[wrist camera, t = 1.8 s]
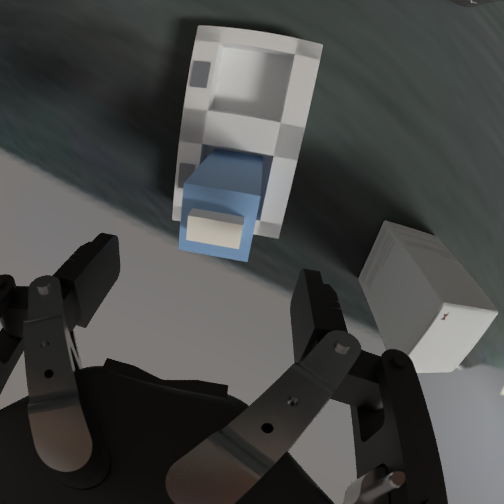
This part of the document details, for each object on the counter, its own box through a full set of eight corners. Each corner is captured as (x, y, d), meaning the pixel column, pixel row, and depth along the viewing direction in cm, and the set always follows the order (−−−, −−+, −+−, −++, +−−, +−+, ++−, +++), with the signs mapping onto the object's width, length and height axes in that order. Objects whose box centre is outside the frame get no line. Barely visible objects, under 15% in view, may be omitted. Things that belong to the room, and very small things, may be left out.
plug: (215, 148, 23) (178, 189, 14) (263, 156, 23) (260, 203, 14) (209, 192, 25) (174, 258, 16) (254, 200, 25) (246, 271, 16)
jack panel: (206, 33, 18) (197, 24, 16) (316, 50, 19) (323, 44, 16) (181, 206, 26) (171, 220, 24) (277, 223, 27) (278, 239, 24)
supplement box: (355, 279, 30) (390, 375, 19) (383, 217, 26) (445, 301, 15) (408, 290, 30) (451, 375, 19) (437, 235, 26) (501, 312, 16)
